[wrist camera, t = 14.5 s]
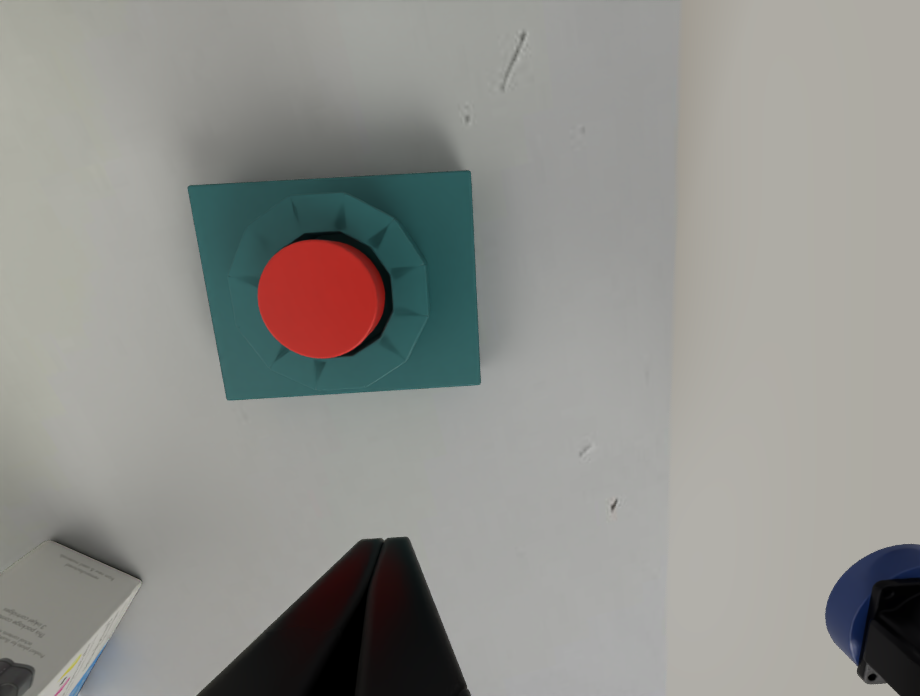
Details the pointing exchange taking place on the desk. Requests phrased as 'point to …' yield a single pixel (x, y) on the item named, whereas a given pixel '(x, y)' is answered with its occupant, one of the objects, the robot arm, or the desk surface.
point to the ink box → (57, 619)
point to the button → (320, 297)
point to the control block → (383, 241)
